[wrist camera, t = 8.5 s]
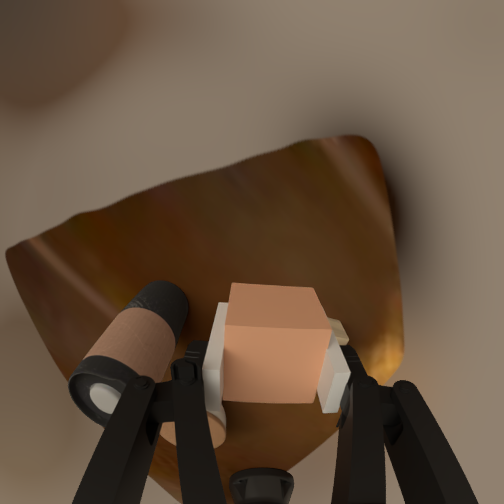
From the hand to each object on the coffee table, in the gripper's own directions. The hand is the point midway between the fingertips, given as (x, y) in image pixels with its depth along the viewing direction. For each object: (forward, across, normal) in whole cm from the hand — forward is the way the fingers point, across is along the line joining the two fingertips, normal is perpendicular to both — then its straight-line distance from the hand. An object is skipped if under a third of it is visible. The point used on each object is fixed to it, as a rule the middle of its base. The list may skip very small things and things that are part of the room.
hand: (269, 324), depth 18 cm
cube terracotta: (0, 0, 0) cm, 0 cm away
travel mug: (+19, +13, +9) cm, 25 cm away
